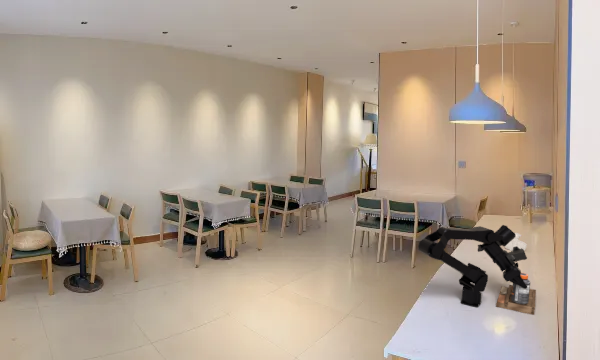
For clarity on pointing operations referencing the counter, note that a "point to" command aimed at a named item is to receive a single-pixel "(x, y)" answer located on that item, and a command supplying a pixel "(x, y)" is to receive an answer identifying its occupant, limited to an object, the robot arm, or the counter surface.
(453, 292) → the counter surface
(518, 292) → the pill bottle
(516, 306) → the socket frame
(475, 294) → the robot arm
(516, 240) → the white tied bag
